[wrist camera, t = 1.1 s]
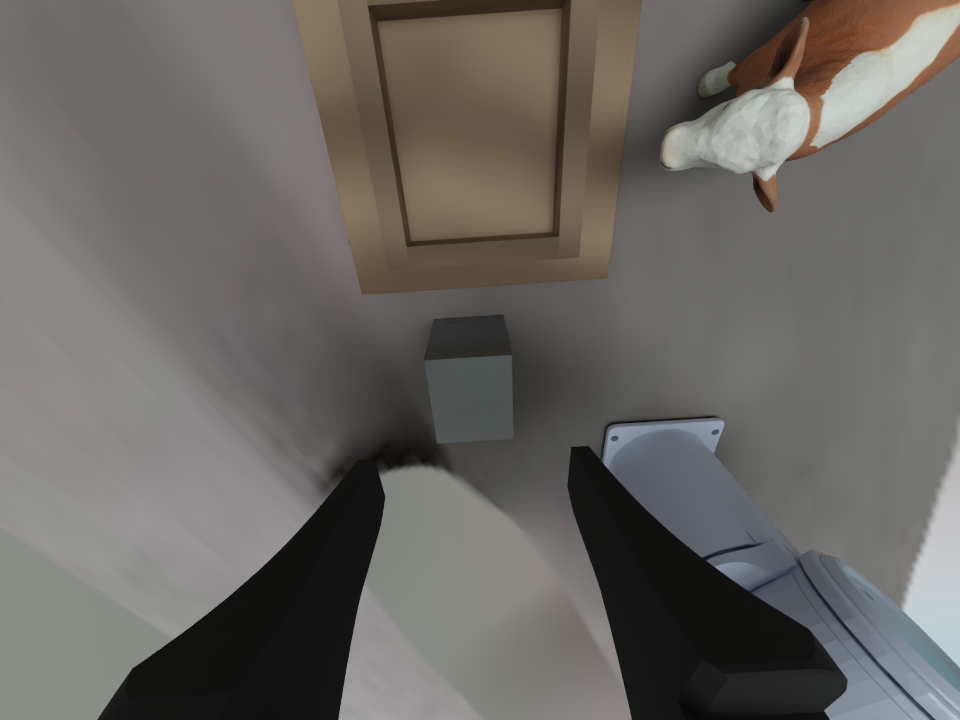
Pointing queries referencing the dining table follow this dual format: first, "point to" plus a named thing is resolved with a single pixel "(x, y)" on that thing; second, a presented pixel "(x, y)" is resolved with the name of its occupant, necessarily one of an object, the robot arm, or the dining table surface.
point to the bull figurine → (815, 85)
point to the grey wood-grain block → (470, 379)
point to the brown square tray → (473, 134)
